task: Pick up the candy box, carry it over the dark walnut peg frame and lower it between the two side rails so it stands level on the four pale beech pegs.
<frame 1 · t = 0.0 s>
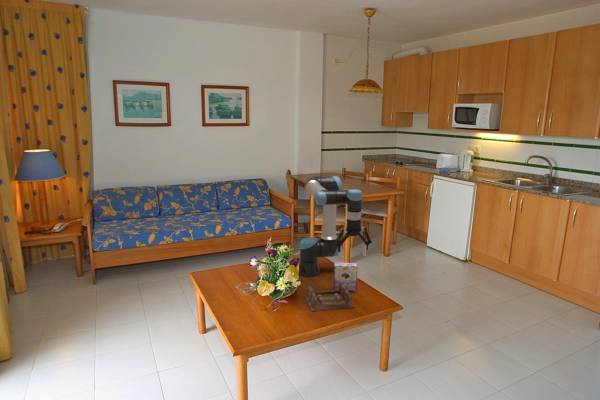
hand: (352, 256, 216), 28 cm above the table, fingers open, 13 cm apart
peg frame: (328, 301, 225), on the table
candy box: (345, 289, 241), on the table
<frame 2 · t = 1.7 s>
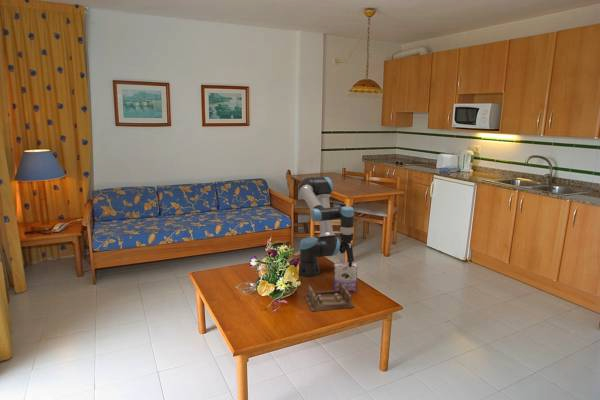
hand: (345, 267, 238), 14 cm above the table, fingers open, 13 cm apart
nothing on the table moved.
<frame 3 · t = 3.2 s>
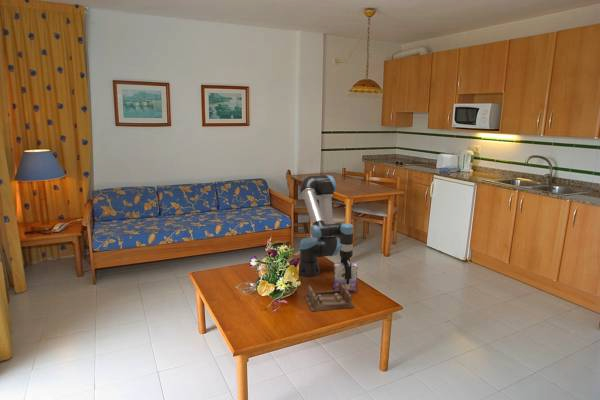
hand: (345, 286, 241), 2 cm above the table, fingers closed on candy box, 7 cm apart
candy box: (345, 289, 241), on the table, touching gripper
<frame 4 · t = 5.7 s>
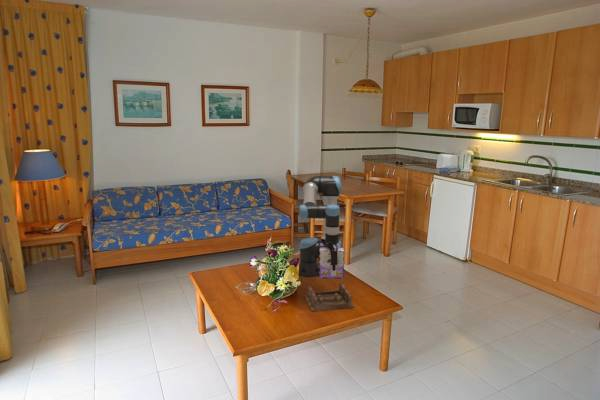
hand: (331, 272, 223), 17 cm above the table, fingers closed on candy box, 7 cm apart
candy box: (331, 277, 223), point 14 cm above the table, touching gripper
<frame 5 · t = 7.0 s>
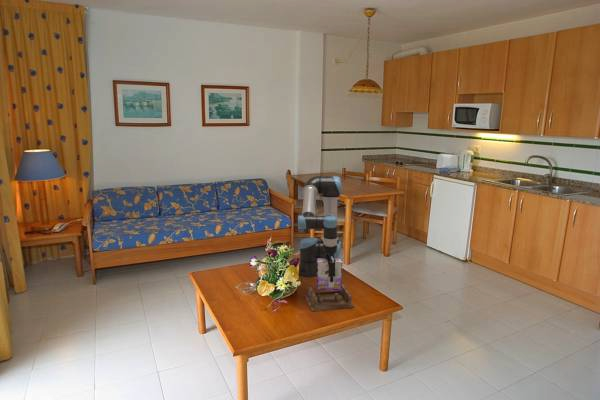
hand: (329, 284, 223), 11 cm above the table, fingers closed on candy box, 7 cm apart
candy box: (329, 288, 223), point 8 cm above the table, touching gripper
when the fingers open (7 cm above the table, at t = 8.0 s): candy box drops 1 cm, resting on peg frame.
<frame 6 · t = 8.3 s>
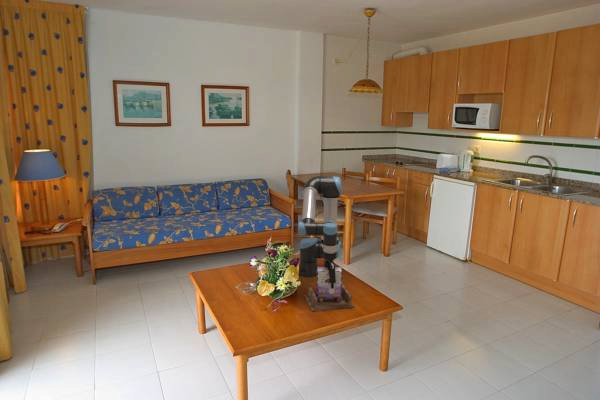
hand: (329, 289, 223), 8 cm above the table, fingers open, 10 cm apart
candy box: (328, 296, 224), point 3 cm above the table, touching peg frame
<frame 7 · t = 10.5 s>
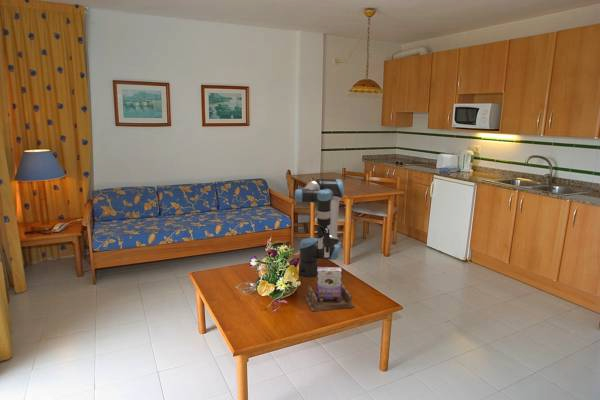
hand: (323, 252, 230), 25 cm above the table, fingers open, 13 cm apart
nothing on the table moved.
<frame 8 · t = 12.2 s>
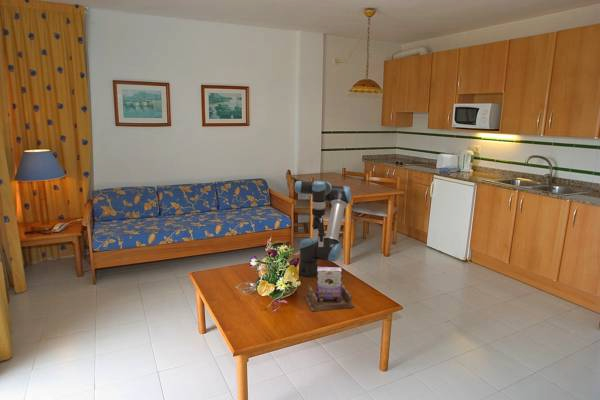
hand: (318, 243, 237), 29 cm above the table, fingers open, 13 cm apart
nothing on the table moved.
at the end: candy box inside the target area on the peg frame (0.2 cm from its centre), point 3.3 cm above the peg frame's base; candy box tilted 0°; candy box touching peg frame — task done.
